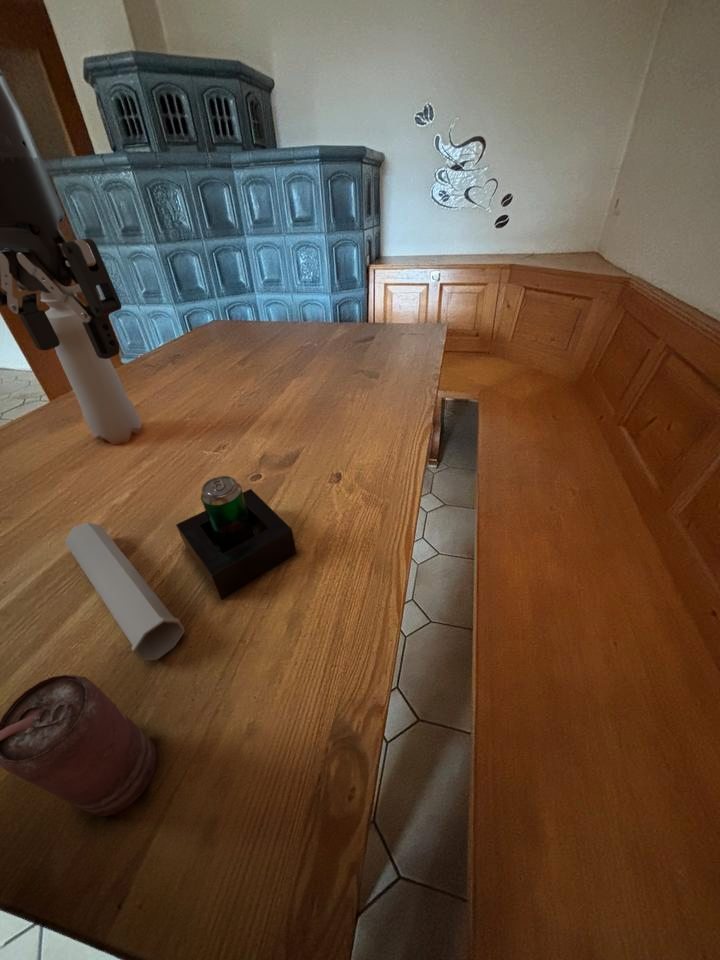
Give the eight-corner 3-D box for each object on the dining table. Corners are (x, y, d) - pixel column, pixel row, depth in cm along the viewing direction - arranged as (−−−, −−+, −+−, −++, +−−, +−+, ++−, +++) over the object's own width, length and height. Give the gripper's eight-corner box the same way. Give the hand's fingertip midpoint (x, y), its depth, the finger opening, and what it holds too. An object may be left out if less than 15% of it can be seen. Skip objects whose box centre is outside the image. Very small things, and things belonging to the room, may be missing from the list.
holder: (296, 553, 55) (292, 529, 52) (221, 599, 49) (211, 575, 46) (256, 512, 62) (250, 488, 59) (186, 548, 56) (175, 524, 53)
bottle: (153, 427, 83) (91, 273, 64) (121, 450, 76) (41, 285, 58) (120, 421, 85) (50, 270, 66) (85, 443, 79) (-3, 282, 60)
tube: (49, 537, 53) (123, 655, 39) (83, 509, 55) (164, 613, 41) (80, 554, 57) (156, 666, 44) (111, 527, 59) (193, 627, 45)
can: (73, 776, 35) (-26, 717, 26) (143, 721, 38) (77, 652, 30) (93, 840, 32) (-12, 797, 23) (169, 774, 35) (103, 714, 26)
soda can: (228, 568, 53) (205, 505, 46) (216, 546, 56) (193, 483, 49) (262, 552, 55) (246, 489, 48) (248, 531, 59) (231, 469, 51)
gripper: (91, 152, 32) (157, 347, 42) (-27, 156, 35) (61, 334, 46) (-1, 149, 26) (101, 374, 36) (-129, 154, 30) (-3, 357, 40)
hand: (79, 351), depth 41 cm, fingers open, 8 cm apart
